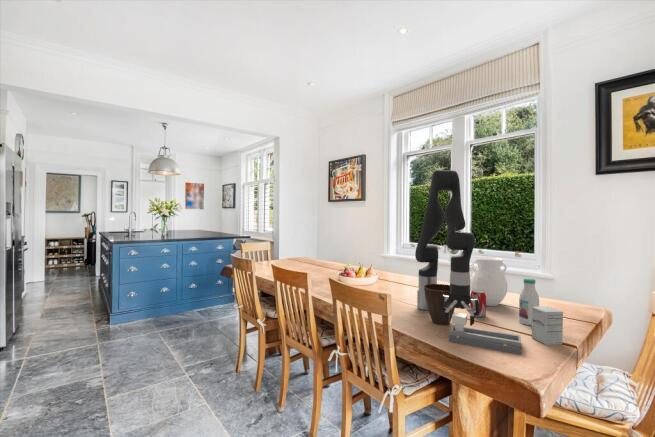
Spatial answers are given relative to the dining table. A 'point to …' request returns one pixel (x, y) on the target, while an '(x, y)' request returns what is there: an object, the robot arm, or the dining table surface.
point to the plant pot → (437, 302)
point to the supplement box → (547, 325)
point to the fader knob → (459, 321)
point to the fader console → (487, 339)
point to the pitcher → (489, 279)
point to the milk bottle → (527, 301)
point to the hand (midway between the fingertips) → (459, 323)
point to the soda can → (482, 301)
